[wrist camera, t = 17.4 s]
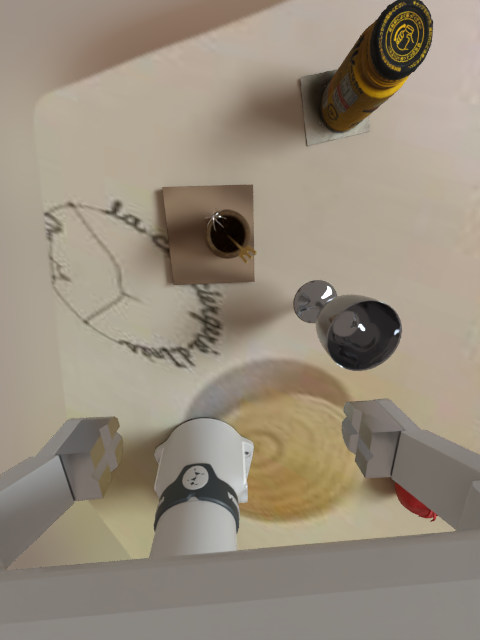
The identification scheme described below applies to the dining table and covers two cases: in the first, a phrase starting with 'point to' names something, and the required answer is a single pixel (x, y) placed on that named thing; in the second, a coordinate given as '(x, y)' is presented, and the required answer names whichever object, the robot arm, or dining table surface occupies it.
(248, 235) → the utensil holder
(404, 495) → the pomegranate
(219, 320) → the dining table surface
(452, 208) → the dining table surface
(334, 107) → the condiment
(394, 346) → the wine glass
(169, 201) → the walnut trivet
